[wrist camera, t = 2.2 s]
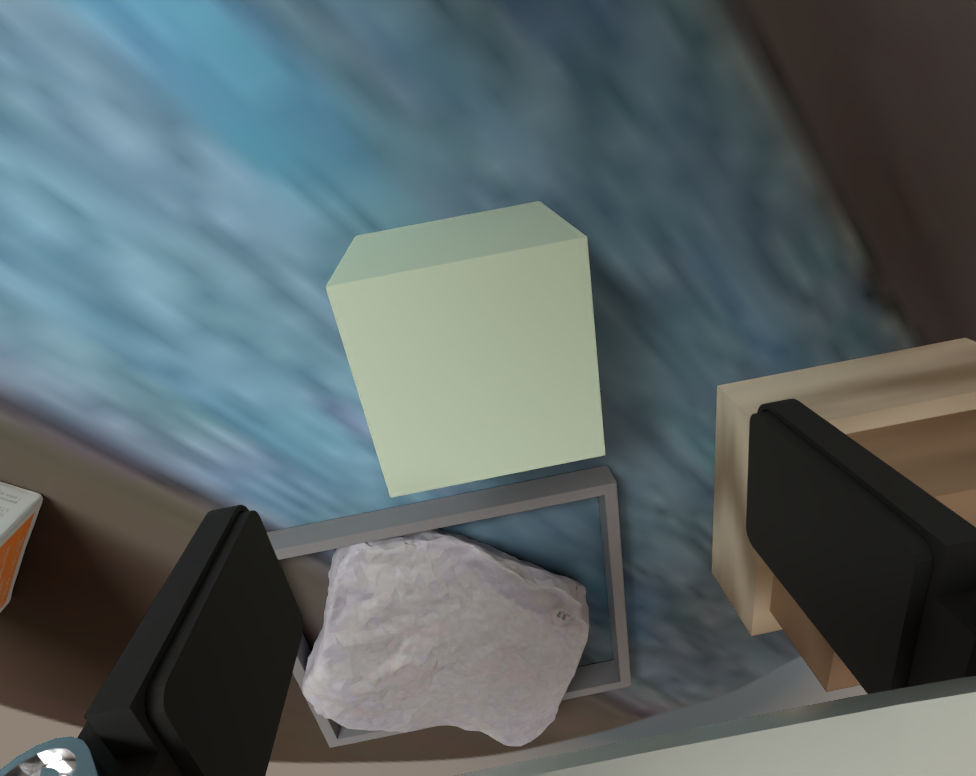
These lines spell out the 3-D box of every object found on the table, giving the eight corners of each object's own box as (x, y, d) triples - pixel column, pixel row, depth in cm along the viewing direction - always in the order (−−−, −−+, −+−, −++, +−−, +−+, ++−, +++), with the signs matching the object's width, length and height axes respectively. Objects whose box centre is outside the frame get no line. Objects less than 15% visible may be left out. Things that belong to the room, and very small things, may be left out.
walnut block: (787, 445, 19) (861, 511, 16) (1015, 401, 19) (1133, 458, 16) (769, 611, 22) (826, 691, 19) (960, 572, 22) (1048, 646, 19)
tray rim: (244, 536, 22) (235, 557, 21) (607, 465, 23) (616, 482, 22) (333, 723, 28) (330, 747, 27) (623, 664, 28) (631, 686, 27)
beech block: (712, 380, 22) (767, 432, 18) (956, 333, 22) (1057, 375, 19) (707, 565, 26) (751, 635, 23) (909, 525, 27) (984, 588, 23)
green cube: (356, 235, 18) (325, 286, 12) (538, 200, 18) (587, 236, 13) (399, 397, 20) (390, 497, 15) (558, 367, 21) (605, 455, 15)
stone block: (343, 477, 25) (310, 662, 27) (323, 531, 20) (285, 748, 23) (591, 519, 27) (540, 689, 29) (623, 577, 22) (561, 774, 24)
